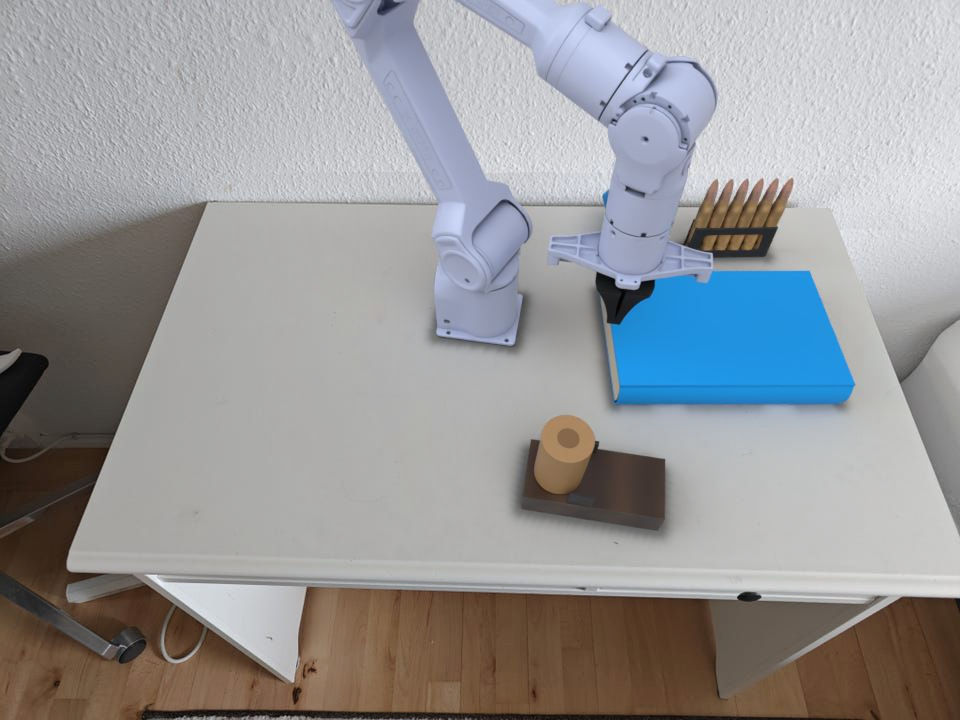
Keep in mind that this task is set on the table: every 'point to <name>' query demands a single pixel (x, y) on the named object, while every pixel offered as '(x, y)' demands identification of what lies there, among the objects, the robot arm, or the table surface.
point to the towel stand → (605, 490)
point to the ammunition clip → (738, 220)
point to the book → (728, 343)
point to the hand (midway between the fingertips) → (613, 316)
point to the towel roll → (563, 454)
